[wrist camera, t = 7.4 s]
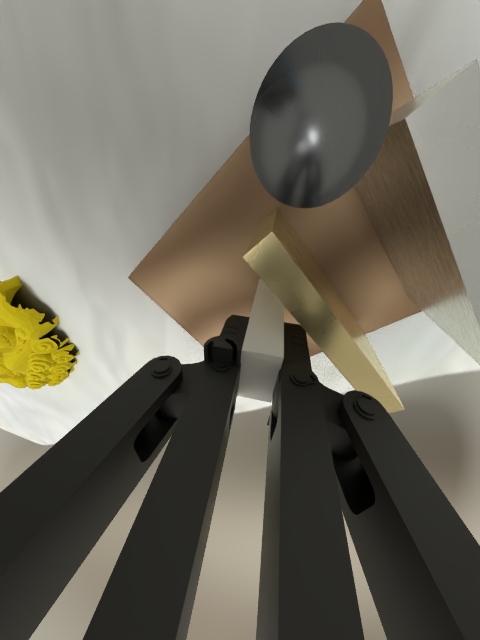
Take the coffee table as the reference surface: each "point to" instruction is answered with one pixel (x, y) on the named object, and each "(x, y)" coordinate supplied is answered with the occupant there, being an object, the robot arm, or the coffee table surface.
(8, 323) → the door knocker
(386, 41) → the walnut board
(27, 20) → the coffee table surface
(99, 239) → the coffee table surface
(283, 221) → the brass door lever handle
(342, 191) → the fixed leaf
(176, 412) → the robot arm
